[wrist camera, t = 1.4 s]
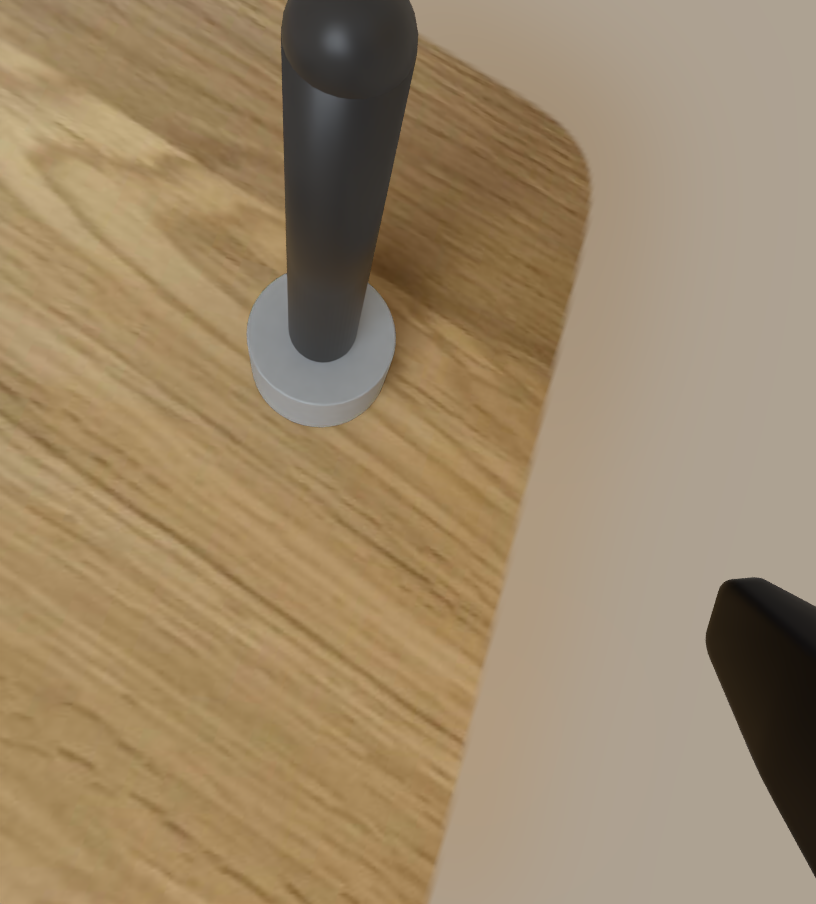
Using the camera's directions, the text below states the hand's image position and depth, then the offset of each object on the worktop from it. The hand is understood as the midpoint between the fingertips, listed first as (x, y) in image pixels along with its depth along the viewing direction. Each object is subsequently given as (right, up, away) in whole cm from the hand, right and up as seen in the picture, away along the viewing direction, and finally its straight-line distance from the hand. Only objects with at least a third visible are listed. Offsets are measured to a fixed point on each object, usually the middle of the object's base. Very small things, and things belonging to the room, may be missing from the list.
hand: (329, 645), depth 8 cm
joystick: (-2, +5, +15) cm, 16 cm away
